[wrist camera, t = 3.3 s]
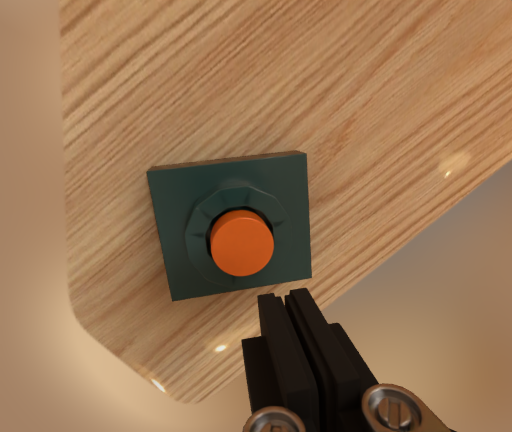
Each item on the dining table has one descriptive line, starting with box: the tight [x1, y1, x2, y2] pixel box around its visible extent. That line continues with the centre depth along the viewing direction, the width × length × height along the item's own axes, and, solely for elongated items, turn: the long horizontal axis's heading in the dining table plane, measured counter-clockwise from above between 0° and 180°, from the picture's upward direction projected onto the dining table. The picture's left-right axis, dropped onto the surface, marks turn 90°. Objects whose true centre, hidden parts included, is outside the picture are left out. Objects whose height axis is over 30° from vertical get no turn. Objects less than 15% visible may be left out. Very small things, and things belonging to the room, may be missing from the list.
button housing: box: [147, 150, 312, 301], centre depth 21 cm, size 10×9×4 cm
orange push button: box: [210, 210, 274, 276], centre depth 19 cm, size 4×4×2 cm
